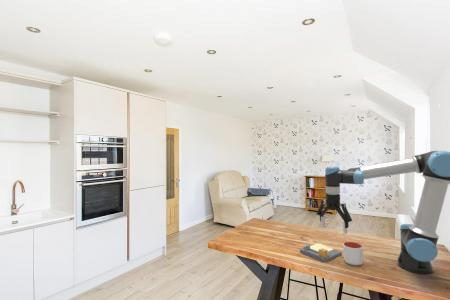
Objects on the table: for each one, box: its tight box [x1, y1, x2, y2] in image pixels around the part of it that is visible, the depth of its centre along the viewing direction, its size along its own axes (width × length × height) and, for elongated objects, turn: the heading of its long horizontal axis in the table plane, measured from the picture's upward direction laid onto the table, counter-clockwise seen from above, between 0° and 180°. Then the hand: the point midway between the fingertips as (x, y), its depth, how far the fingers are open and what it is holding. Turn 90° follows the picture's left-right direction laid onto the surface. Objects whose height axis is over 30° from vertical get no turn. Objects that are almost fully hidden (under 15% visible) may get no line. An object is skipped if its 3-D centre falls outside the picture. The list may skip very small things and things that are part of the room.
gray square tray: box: [299, 243, 343, 264], centre depth 153 cm, size 18×17×5 cm
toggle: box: [319, 248, 328, 258], centre depth 145 cm, size 4×3×4 cm
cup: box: [342, 241, 364, 266], centre depth 141 cm, size 10×10×10 cm
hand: (333, 230), depth 140 cm, fingers open, 13 cm apart
